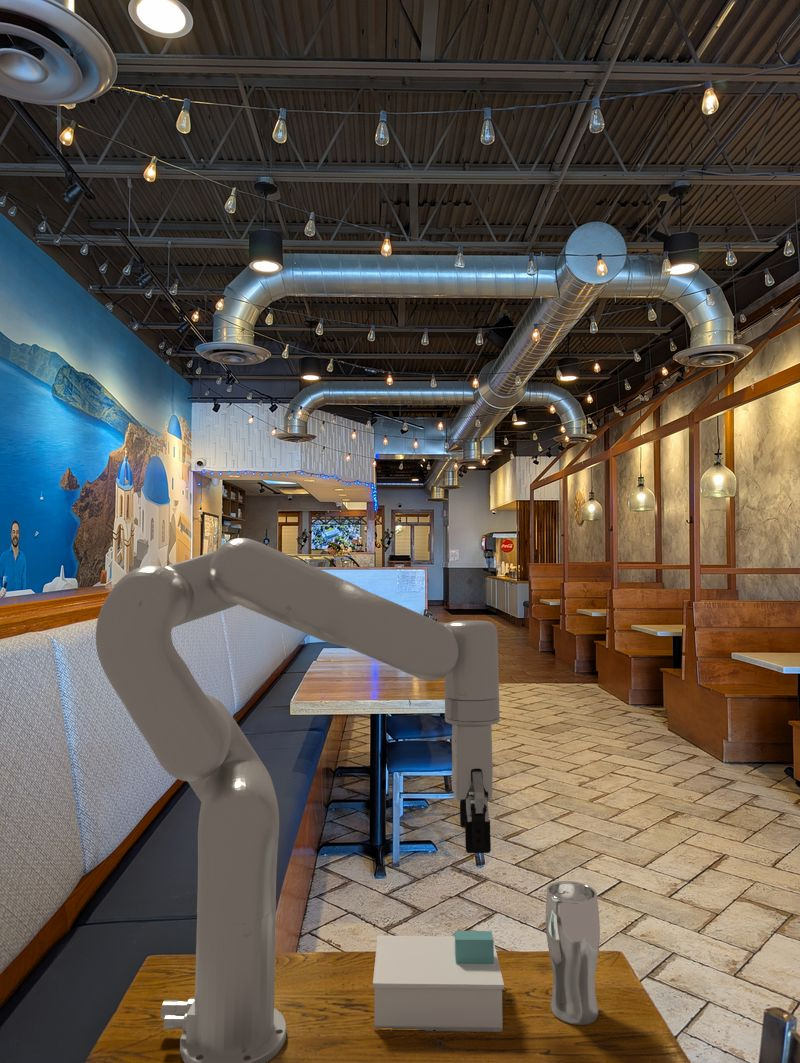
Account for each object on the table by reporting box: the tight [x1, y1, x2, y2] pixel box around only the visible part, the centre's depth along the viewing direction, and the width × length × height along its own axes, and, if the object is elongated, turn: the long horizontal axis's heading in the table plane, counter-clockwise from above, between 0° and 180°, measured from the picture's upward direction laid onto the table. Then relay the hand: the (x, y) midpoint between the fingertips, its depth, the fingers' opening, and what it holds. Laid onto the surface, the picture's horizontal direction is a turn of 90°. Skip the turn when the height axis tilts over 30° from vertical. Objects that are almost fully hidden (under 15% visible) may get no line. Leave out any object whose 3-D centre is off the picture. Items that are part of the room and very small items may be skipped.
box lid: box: [372, 930, 505, 990], centre depth 90 cm, size 16×12×4 cm
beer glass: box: [545, 880, 601, 1026], centre depth 89 cm, size 7×7×15 cm
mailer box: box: [373, 988, 504, 1033], centre depth 90 cm, size 16×11×5 cm
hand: (474, 838), depth 92 cm, fingers open, 9 cm apart
